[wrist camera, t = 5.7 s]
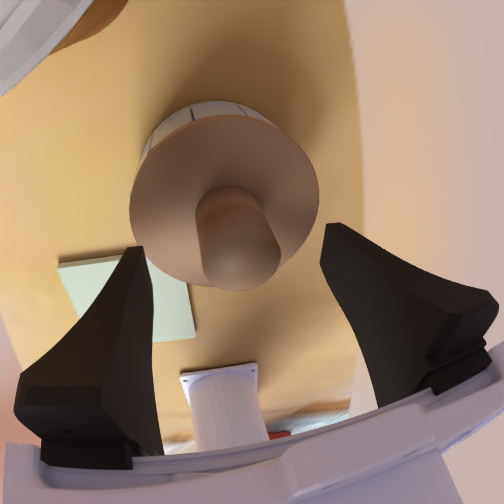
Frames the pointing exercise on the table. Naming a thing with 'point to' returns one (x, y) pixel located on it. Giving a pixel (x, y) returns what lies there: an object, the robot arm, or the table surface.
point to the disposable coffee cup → (46, 31)
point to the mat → (164, 293)
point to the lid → (224, 202)
